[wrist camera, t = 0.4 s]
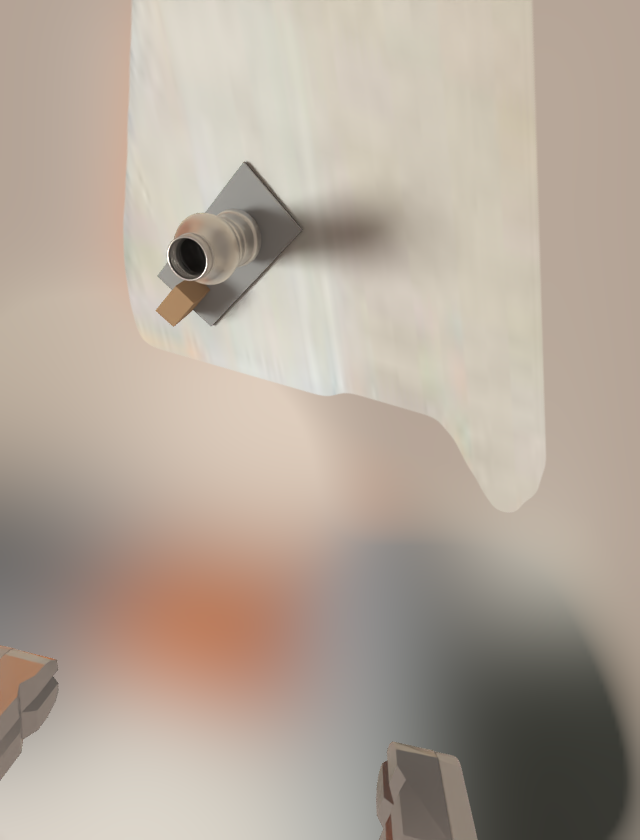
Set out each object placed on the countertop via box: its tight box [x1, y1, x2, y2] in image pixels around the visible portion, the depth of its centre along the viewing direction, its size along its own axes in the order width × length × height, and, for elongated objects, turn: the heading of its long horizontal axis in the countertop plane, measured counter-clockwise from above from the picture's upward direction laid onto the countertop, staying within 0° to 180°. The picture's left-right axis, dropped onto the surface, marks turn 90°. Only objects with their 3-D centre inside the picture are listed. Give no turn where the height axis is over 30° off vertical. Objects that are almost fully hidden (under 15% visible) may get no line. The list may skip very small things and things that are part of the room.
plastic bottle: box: [167, 209, 261, 285], centre depth 41 cm, size 6×7×20 cm
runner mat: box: [156, 162, 302, 327], centre depth 50 cm, size 20×10×6 cm, turn 133°
